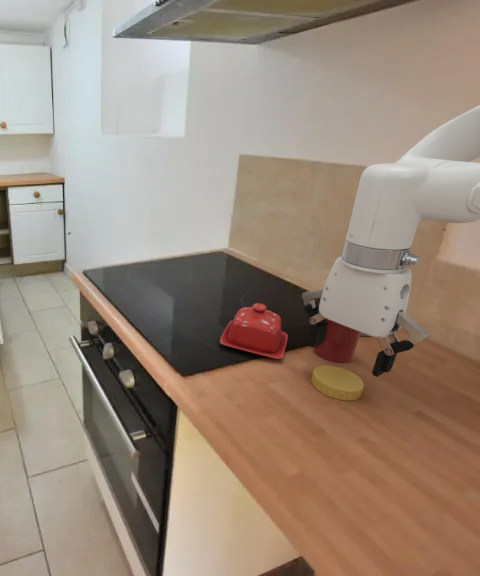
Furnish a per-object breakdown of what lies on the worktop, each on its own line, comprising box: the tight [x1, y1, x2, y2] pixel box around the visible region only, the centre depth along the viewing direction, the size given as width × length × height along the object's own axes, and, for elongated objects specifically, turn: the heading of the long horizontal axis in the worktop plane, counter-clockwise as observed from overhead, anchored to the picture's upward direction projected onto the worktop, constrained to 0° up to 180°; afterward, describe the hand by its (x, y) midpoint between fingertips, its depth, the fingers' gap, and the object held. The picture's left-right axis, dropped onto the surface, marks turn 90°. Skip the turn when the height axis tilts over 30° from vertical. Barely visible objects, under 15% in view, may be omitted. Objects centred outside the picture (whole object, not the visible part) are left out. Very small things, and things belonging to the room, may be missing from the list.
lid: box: [310, 364, 365, 402], centre depth 62 cm, size 7×7×2 cm
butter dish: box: [219, 302, 289, 360], centre depth 73 cm, size 12×12×8 cm
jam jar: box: [312, 319, 361, 364], centre depth 70 cm, size 7×7×11 cm
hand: (345, 358), depth 60 cm, fingers open, 9 cm apart
